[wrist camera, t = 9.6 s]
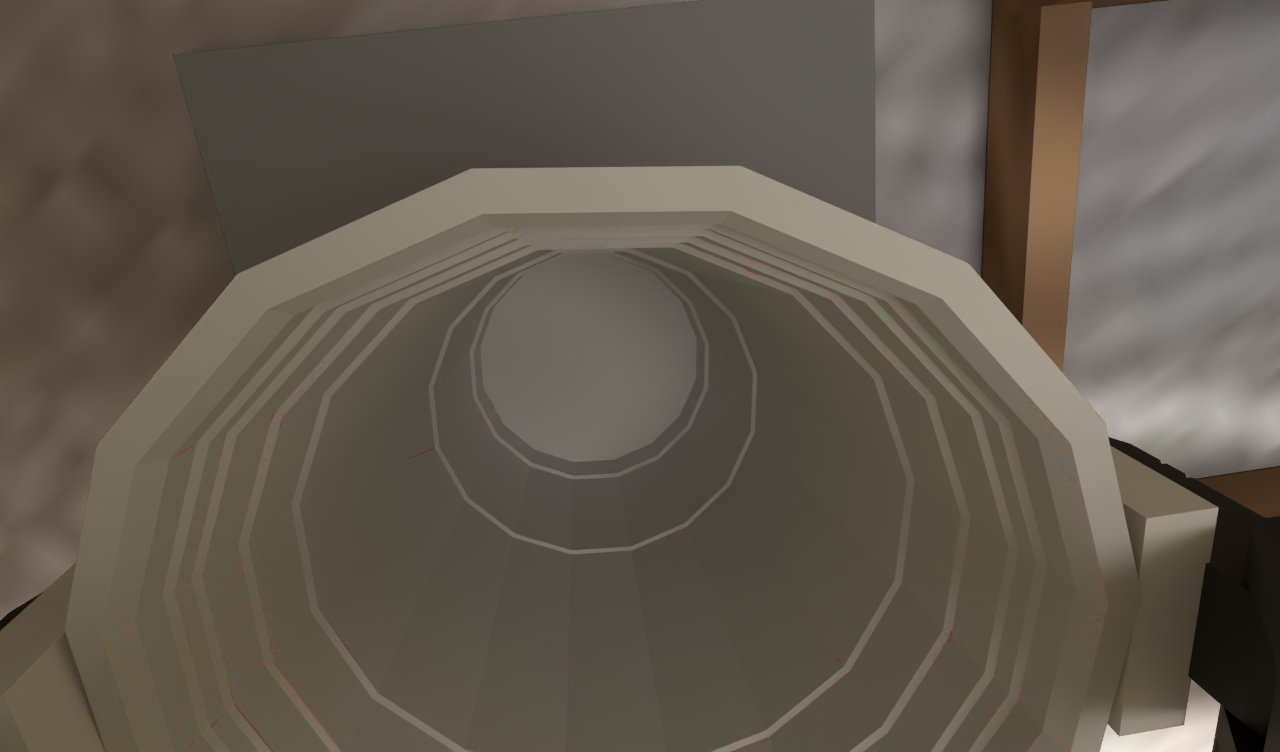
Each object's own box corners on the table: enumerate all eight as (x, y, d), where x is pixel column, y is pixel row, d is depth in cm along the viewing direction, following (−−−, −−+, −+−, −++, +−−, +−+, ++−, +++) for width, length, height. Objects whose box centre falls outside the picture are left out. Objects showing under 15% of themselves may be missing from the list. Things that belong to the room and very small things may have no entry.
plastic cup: (258, 317, 18) (-290, 660, 6) (638, 37, 17) (817, -166, 5) (538, 625, 21) (515, 1210, 10) (868, 408, 20) (1279, 777, 9)
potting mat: (185, 56, 17) (173, 54, 17) (864, -13, 18) (874, -18, 18) (347, 637, 22) (341, 651, 22) (869, 557, 23) (876, 567, 23)
